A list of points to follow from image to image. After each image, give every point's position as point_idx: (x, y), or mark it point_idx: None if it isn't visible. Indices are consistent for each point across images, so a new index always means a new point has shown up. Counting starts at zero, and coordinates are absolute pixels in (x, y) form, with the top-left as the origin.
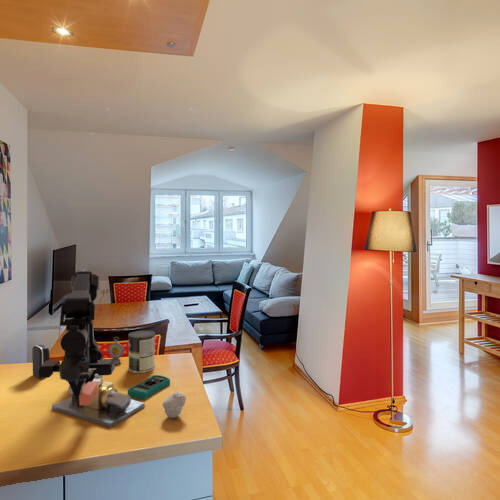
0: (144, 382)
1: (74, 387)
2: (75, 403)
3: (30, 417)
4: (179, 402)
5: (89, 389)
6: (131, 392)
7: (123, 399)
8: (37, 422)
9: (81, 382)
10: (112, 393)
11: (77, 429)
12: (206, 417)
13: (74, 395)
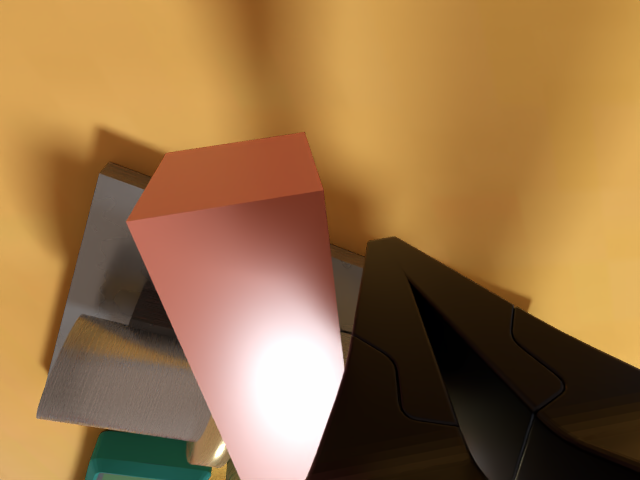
0: None
1: (475, 329)
2: None
3: (615, 245)
4: None
5: (256, 368)
6: (182, 461)
7: (52, 371)
8: (575, 202)
9: (365, 442)
10: (177, 417)
11: (326, 135)
12: None
13: (423, 254)
